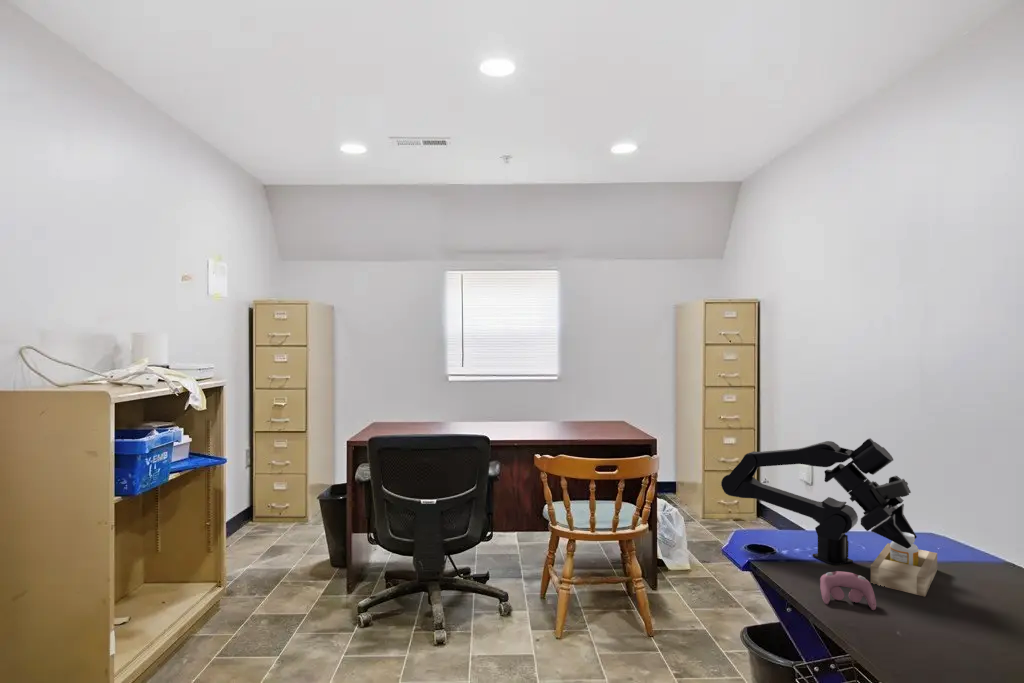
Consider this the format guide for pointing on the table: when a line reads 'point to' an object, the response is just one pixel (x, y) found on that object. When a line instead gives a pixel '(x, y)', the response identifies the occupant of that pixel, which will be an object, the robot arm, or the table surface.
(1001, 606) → the table surface
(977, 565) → the table surface
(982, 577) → the table surface
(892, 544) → the supplement bottle
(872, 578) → the holder block
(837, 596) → the video game controller
